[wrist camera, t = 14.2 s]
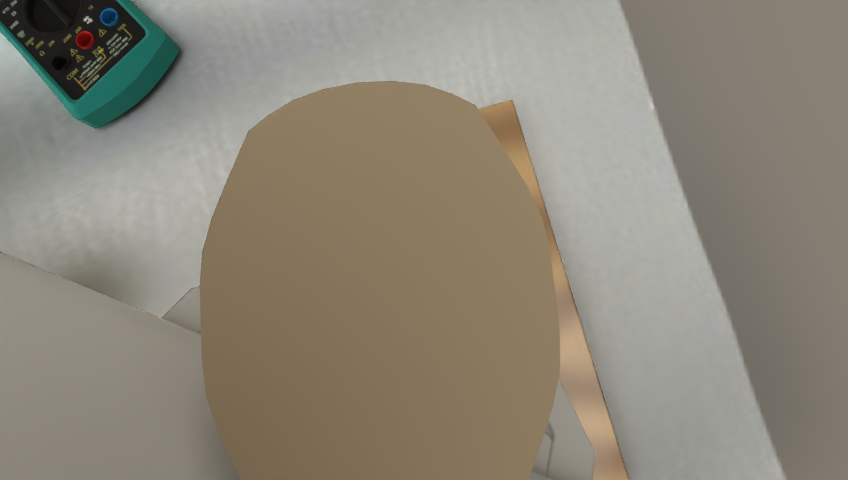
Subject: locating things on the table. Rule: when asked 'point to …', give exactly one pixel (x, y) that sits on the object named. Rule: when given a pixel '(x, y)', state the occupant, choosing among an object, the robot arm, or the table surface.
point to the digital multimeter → (90, 52)
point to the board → (564, 314)
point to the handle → (378, 295)
